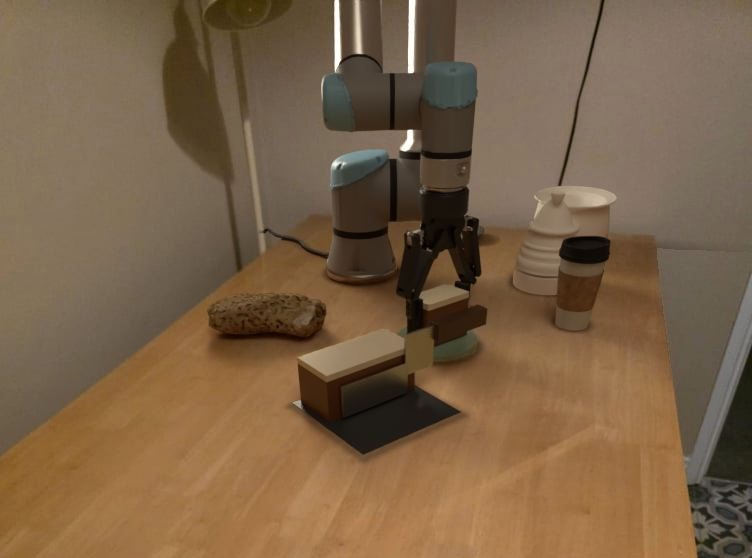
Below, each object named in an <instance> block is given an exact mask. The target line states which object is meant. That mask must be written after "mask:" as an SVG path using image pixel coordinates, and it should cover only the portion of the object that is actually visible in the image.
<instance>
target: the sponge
mask: <svg viewBox="0 0 752 558" xmlns="http://www.w3.org/2000/svg"><path fill="white" fill-rule="evenodd" d="M206 312H207V316H208V326H209V327H210V328H212V329H213V330H217V331H218V332H219V333H223V334H228V335H240V336H241V335H242V336H244V335H247V336H248V335H257V334H263V333H277V334H278V333H280V334H285V335H292V336H295V337H298V338H299V337H303V338H304V337H306V338H307V337H309V336H311V335H312V334H313V333H315V332H316V331H318V330H321V329H322V327H323V326H324V324H325V320H326V316H327V304H326V303H325V302H323V301H322V300H321V299H318V298H317V297H311V296H309V297H308V296H307V295H303V294H300V293H292V292H291V293H290V292H278V293H277V292H276V293H275V292H274V293H273V292H272V293H271V292H269V293H237V294H232V295H227V296H224V297H222V298H219V299H218V300H216V301H215V302H214V303H211V304H210V306H208V308H206Z"/></svg>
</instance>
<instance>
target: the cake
mask: <svg viewBox="0 0 752 558" xmlns="http://www.w3.org/2000/svg"><path fill="white" fill-rule="evenodd" d="M397 334H398V333H394V332H393V331H391V330H389V329H387V328H384V327H383V328H380V329H377V330H373V331H371V332H368V333H366V334H363V335H360V336H357V337H353V338H350V339H347V340H345V341H341V342H339V343H335V344H332V345H330V346H327V347H324V348H321V349H317V350H315V351H312V352H311V351H310V352H308V353H306V354H303V355H300V356H297V357H296V360H297V370H298V371H297V372H298V373H297V374H298V385H299V395H300V396H299V397H300V400H301V403H302V404H303V405H305V406H306V407H307V408H309V409H310V410H312V411H313V412H314V413H316V414H317V415H319V416H320V417H321V418H323V419H324V420H325V421H327V422H328V423H331V422H334V421H336V420H339V419H341V418H342V410H341V390H340V386H343V385H345V384H348V383H351V382H353V381H356V380H359V379H361V378H364V377H367V376H370V375H372V374H375V373H378V372H380V371H383V370H386V369H388V368H391V367H394V366H396V365H399V364H402V363H404V338H402V337H400V336H399V335H397ZM415 375H416V372H414V373H411V374H409V375H408V381H407V392H409V391H411V390H414V385H415V380H416V379H415Z"/></svg>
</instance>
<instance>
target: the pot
mask: <svg viewBox="0 0 752 558" xmlns="http://www.w3.org/2000/svg"><path fill="white" fill-rule="evenodd" d="M553 191H562V192H565V197H564V199H563V201H564V202H565V203H566V205H567V207H568V209H569V211H570V214H571V217H572V220H573V221H575V222H577V223H578V224H579V226H580V229H579V231H578V232H577V233H575V235H576V236H602V237H605V238H607V239H608V235H609V230H610V220H611V219H610V218H611V216H610V215H611V213H610V212H611V211H610V210H611V205H614V204H615V203H616V202H617V199H618V198H617V196H616V194H615V193H613V192H611V191H609V190H606V189H602V188H600V187H599V188H598V187H593V186H582V185H558V186H550V187H545V188H542V189H539V190H537V191H536V192H535V193H534V199H535V200H536V201H538V203H537V206H536V209H535V212H534V217H533V220H534V219H535V217H536V216H537V214H538V213H539V211H540V210H541V208H542V207H543V206H544V205H545V203H546V202H548V201H549V200H550V199H552V198H551V192H553Z"/></svg>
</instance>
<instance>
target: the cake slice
mask: <svg viewBox="0 0 752 558" xmlns="http://www.w3.org/2000/svg"><path fill="white" fill-rule="evenodd" d="M419 298H421V299H423V316H422V328H425V327H428V326H429V321H430V320H433V319H436V318H439V317H442V316H445V315H448V314H451V313H454V312H457V311H460V310H462V309H465V308H468V307H469V302H470V299H469V291H466V290H463V289H460V288H457V287H455V286H454V285H451V284H449V283H444V284H441V285H438V286H435V287H432V288H429V289H425V290H422V291H421V294H420V297H419ZM406 327H407V333H408V317H406ZM464 335H467V332H464V333H461V334H458V335H456V336H453V337H450V338H447V339H445V340H442V341H439V342H437V341H435V340H434V346H437V345H440V344H442V343H445V342H448V341H450V340H453V339H456V338H459V337H461V336H464Z"/></svg>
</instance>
